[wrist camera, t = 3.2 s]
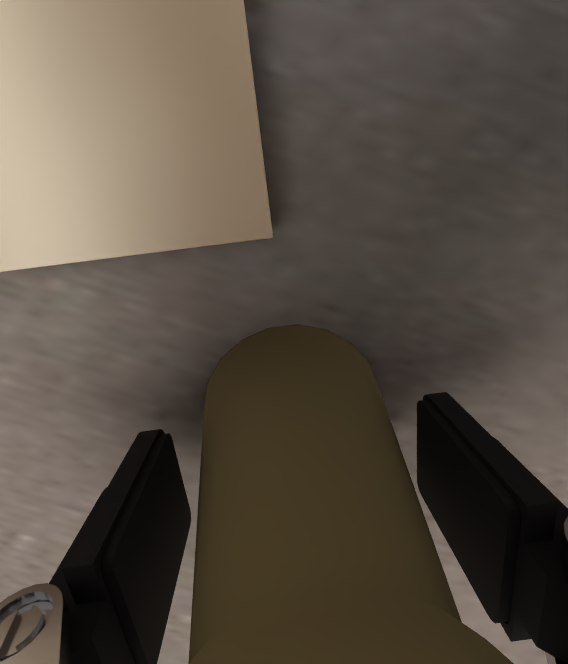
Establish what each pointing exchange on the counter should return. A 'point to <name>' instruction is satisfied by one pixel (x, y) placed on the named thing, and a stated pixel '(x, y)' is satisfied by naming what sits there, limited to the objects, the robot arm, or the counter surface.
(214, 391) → the olive chess pawn
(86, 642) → the robot arm
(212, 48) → the wooden board with pegs
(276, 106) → the counter surface
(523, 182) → the counter surface
